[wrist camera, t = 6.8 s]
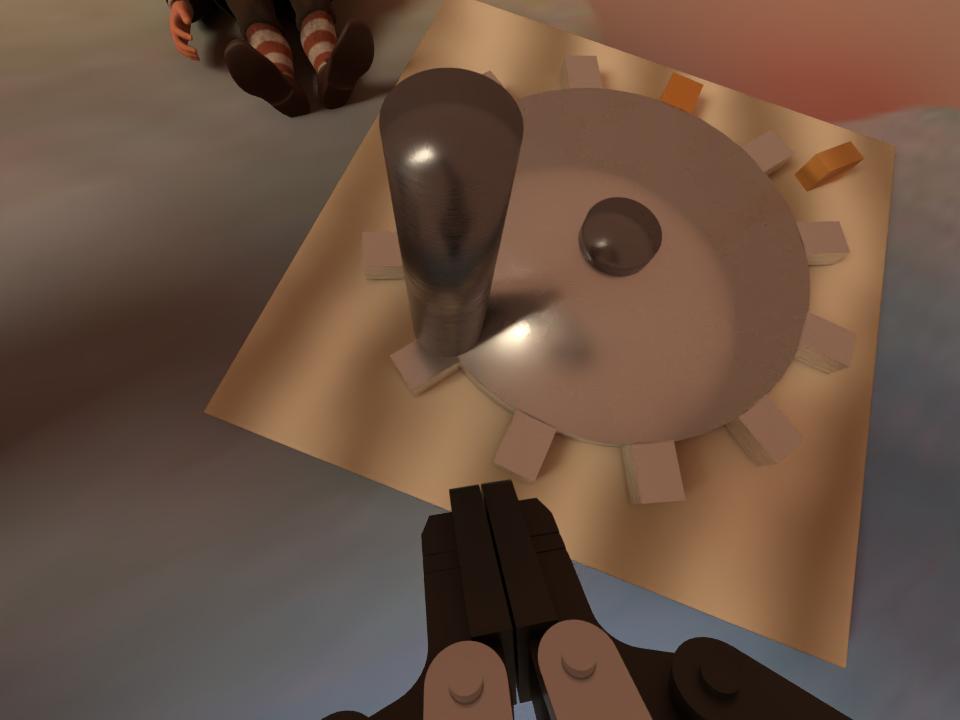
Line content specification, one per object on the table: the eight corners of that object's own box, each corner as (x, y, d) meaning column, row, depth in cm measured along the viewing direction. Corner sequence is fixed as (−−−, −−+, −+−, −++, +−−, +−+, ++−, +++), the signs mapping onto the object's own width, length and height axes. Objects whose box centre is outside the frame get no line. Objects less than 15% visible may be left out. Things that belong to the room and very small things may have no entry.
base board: (219, 418, 21) (183, 404, 18) (450, 16, 30) (450, -38, 27) (816, 657, 20) (882, 682, 17) (873, 164, 28) (922, 125, 26)
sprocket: (273, 383, 20) (37, 207, 8) (471, 23, 27) (491, -335, 16) (804, 592, 19) (1375, 722, 7) (859, 159, 26) (1186, -117, 15)
